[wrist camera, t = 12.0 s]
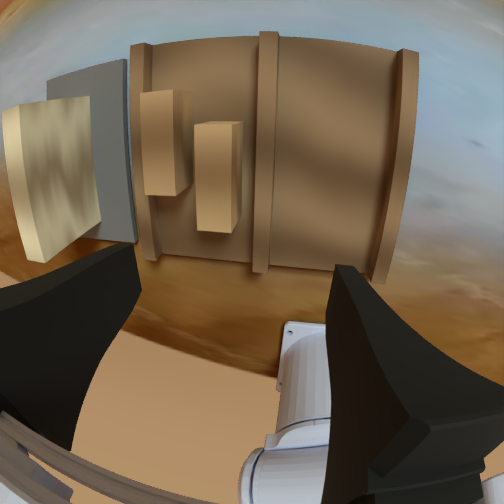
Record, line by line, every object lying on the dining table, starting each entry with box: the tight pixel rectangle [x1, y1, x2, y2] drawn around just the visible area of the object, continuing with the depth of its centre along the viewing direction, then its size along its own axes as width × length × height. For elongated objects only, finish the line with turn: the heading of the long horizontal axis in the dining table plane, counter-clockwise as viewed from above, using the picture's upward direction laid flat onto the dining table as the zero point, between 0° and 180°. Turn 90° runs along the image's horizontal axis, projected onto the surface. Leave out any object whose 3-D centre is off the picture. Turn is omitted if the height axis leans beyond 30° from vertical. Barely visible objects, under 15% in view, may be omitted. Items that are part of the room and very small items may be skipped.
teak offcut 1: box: [140, 89, 194, 196], centre depth 16 cm, size 6×2×3 cm, turn 178°
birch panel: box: [2, 96, 101, 263], centre depth 17 cm, size 10×2×7 cm, turn 178°
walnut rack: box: [130, 31, 419, 284], centre depth 17 cm, size 15×17×2 cm
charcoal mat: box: [47, 59, 138, 243], centre depth 20 cm, size 14×8×1 cm, turn 178°
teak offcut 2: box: [194, 121, 243, 233], centre depth 17 cm, size 6×2×3 cm, turn 178°
